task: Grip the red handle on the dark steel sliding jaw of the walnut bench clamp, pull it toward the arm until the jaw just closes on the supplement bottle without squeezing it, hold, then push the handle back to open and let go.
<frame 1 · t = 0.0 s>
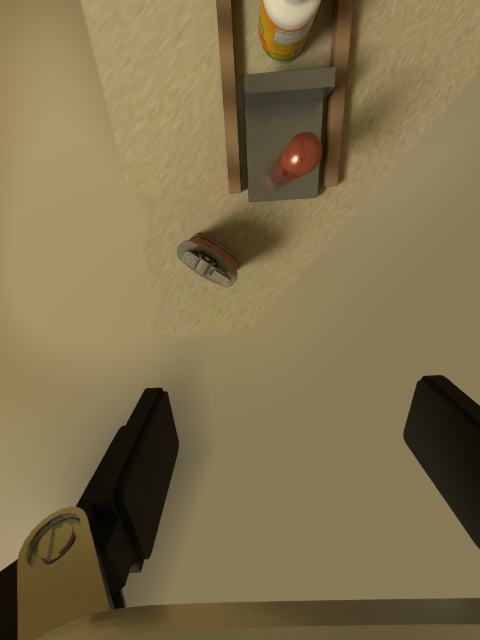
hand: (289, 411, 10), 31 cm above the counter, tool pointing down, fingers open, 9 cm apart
lighter: (214, 254, 38), on the counter
sliding jaw: (291, 137, 26), point 7 cm above the counter, slide at 0.0 cm
supplement bottle: (282, 33, 28), resting in bench clamp
bench clamp: (282, 74, 30), on the counter
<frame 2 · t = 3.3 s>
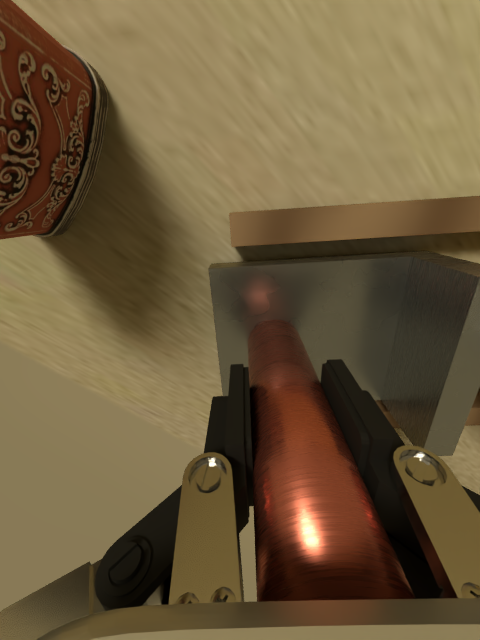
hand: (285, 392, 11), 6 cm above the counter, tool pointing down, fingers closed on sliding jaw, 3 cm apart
lighter: (62, 157, 12), on the counter
sliding jaw: (356, 410, 10), point 7 cm above the counter, slide at 0.0 cm, touching gripper
bench clamp: (434, 323, 16), on the counter
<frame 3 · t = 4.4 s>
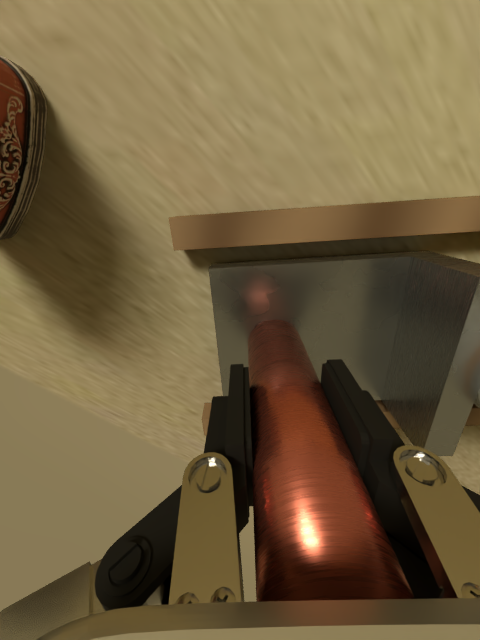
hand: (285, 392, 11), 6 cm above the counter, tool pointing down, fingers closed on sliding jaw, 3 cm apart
lighter: (6, 161, 13), on the counter
sliding jaw: (356, 410, 10), point 7 cm above the counter, slide at 2.8 cm, touching supplement bottle, gripper
bench clamp: (387, 325, 16), on the counter
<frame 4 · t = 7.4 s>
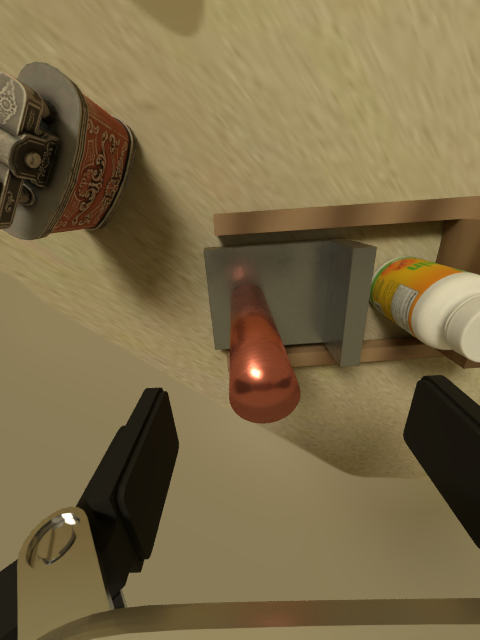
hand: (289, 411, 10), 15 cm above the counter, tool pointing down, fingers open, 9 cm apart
lighter: (104, 178, 19), on the counter
sliding jaw: (290, 326, 17), point 7 cm above the counter, slide at 0.2 cm
supplement bottle: (394, 284, 23), resting in bench clamp
bench clamp: (354, 288, 23), on the counter
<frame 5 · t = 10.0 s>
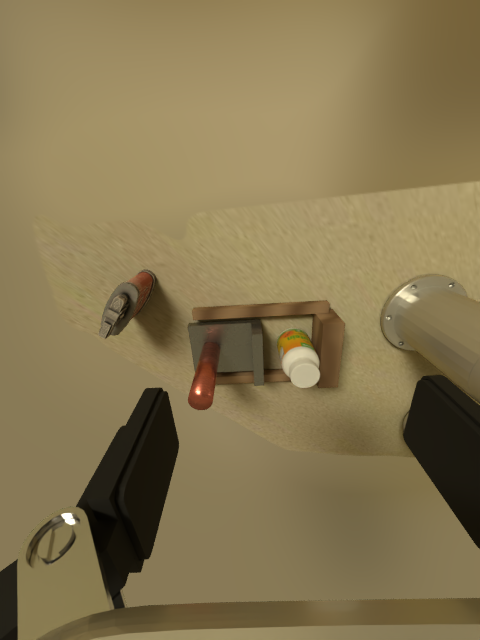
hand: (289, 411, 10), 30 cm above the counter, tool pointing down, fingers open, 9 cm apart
lighter: (140, 292, 40), on the counter
sliding jaw: (224, 368, 37), point 7 cm above the counter, slide at 0.2 cm
supplement bottle: (292, 340, 43), resting in bench clamp
bench clamp: (269, 342, 43), on the counter
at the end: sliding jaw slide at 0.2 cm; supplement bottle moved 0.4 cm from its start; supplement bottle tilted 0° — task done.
